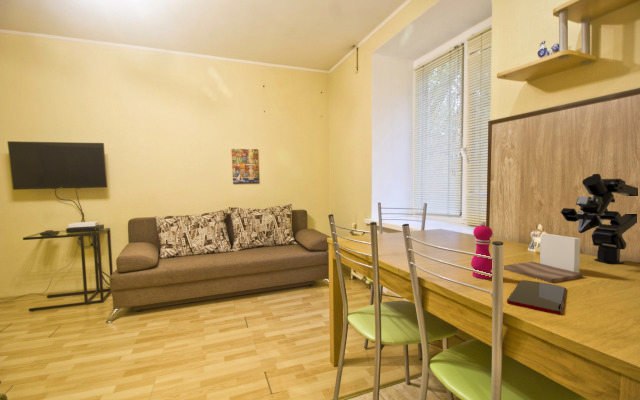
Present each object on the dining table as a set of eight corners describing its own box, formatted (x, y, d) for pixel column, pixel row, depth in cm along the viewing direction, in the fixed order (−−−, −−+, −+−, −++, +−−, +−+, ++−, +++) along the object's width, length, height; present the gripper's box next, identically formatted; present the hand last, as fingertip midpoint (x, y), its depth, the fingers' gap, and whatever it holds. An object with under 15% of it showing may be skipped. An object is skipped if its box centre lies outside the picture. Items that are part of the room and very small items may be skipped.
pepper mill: (473, 272, 112) (474, 219, 111) (495, 275, 108) (496, 220, 107) (468, 277, 107) (469, 221, 106) (491, 281, 102) (492, 223, 101)
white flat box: (545, 265, 120) (545, 233, 119) (579, 273, 109) (580, 238, 108) (539, 266, 119) (540, 233, 118) (573, 274, 108) (574, 239, 107)
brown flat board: (531, 264, 122) (531, 261, 122) (582, 277, 105) (582, 273, 105) (502, 268, 117) (502, 265, 116) (551, 282, 100) (551, 279, 99)
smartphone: (566, 286, 94) (562, 311, 75) (566, 291, 94) (561, 317, 75) (520, 278, 102) (505, 299, 83) (520, 283, 102) (505, 305, 84)
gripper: (564, 189, 127) (545, 216, 124) (620, 189, 109) (599, 221, 106) (576, 206, 130) (557, 233, 127) (632, 210, 112) (613, 241, 109)
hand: (579, 232), depth 117 cm, fingers closed
